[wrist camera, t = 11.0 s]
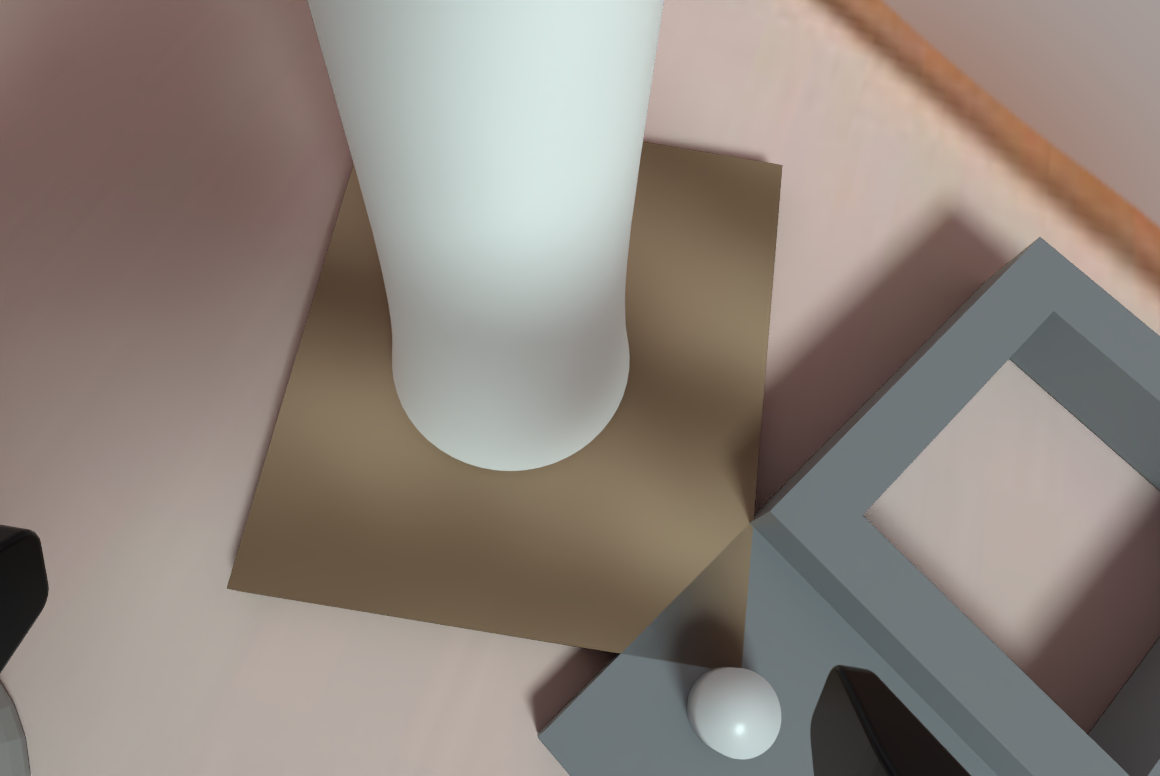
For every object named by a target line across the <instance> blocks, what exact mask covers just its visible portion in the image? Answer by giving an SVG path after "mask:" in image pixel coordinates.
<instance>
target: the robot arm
mask: <svg viewBox="0 0 1160 776" xmlns="http://www.w3.org/2000/svg"><path fill="white" fill-rule="evenodd" d="M48 590H49V587H48V580H47V574H46V569H45V563H44V558H43V552H42V547H41V542H40V539H39V537H38V536H37V534H36V533H35V532H33V531H31V530H28V529H23V528H17V527H11V526H5V525H0V673H1V671H2V670H3V668H4V667H5V665H6V664H7V662H8V661H9V659H10V658H11V656H12V655H13V653H14V652H15V650H16V649H17V647H18V646H19V644H20V643H21V641H22V640H23V638H24V637H25V636H26V634H27V633H28V631H29V630H30V628H31V627H32V625H33V624H34V622H35V621H36V619H37V618H38V616H39V615H40V613H41V611H42V610H43V608H44V606H45V603H46V601H47V597H48ZM810 741H811V751H812V762H813V773H814V776H971V775H970V774H969V773H968V772H967V771H966V769H965V768H964V767H963V766H962V765H961V764H960V763H959V762H958V761H957V760H956V759H955V758H954V757H953V756H952V755H951V753H950V752H949V751H948V750H947V749H946V748H945V747H944V746H943V745H942V744H941V743H940V742H939V741H938V740H937V739H936V738H935V736H934V735H933V734H932V733H931V732H930V731H929V730H928V729H927V728H926V727H925V726H924V725H923V724H922V723H921V722H920V720H919V719H918V718H917V717H916V716H915V715H914V714H913V713H912V712H911V711H910V710H909V709H908V708H907V707H906V706H905V705H904V703H903V702H902V701H901V700H900V699H899V698H898V697H897V696H896V695H895V694H894V693H893V692H892V691H891V690H890V689H889V687H888V686H887V685H886V684H885V683H884V682H883V681H882V680H881V679H880V678H879V677H878V676H877V675H876V674H875V673H874V672H872V671H871V670H868V669H864V668H858V667H852V666H846V665H836V666H834V667H833V668H832V669H831V671H830V672H829V674H828V677H827V679H826V682H825V684H824V687H823V690H822V692H821V695H820V697H819V700H818V702H817V705H816V707H815V710H814V712H813V715H812V719H811V726H810Z"/></svg>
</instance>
